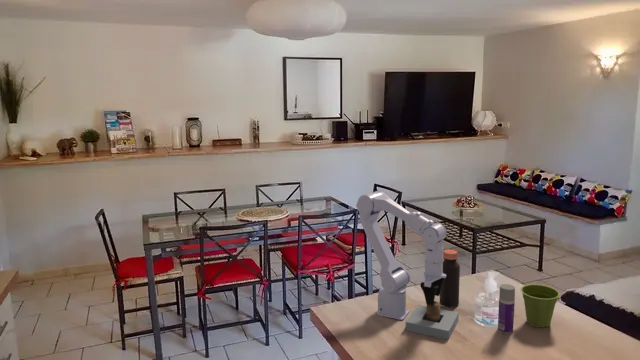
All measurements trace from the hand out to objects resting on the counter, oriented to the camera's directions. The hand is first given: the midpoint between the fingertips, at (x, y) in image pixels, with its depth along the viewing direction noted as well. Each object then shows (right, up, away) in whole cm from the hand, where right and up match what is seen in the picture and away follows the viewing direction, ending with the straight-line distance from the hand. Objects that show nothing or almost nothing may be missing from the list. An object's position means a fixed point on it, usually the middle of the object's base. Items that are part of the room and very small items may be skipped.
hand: (432, 299), depth 158 cm
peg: (0, -8, +1) cm, 8 cm away
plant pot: (+36, -8, +2) cm, 37 cm away
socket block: (0, -9, +2) cm, 9 cm away
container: (+23, -10, -3) cm, 25 cm away
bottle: (+10, -6, +18) cm, 21 cm away
